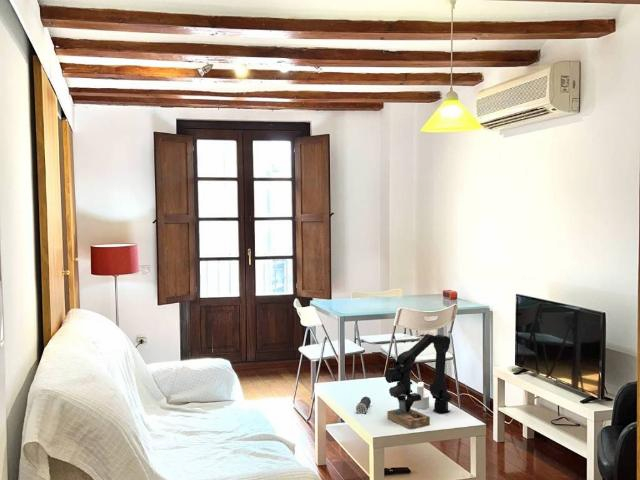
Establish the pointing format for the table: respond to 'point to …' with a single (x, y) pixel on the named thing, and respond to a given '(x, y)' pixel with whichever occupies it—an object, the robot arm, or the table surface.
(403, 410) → the grey upright block
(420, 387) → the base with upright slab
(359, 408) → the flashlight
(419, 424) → the socket board
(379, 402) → the table surface
